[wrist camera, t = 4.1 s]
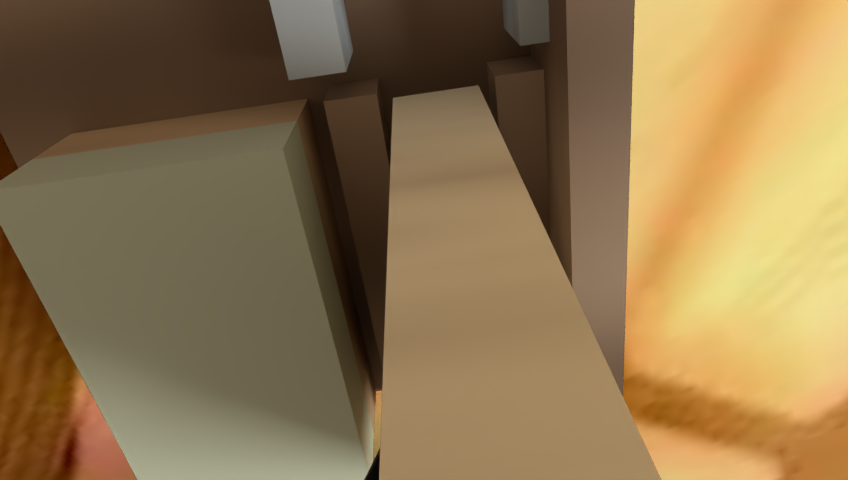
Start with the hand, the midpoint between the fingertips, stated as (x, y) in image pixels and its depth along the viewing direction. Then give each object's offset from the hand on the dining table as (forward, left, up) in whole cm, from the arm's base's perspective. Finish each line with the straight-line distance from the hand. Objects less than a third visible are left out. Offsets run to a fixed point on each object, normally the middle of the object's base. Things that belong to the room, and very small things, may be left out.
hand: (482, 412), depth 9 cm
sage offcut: (0, +5, -4) cm, 6 cm away
